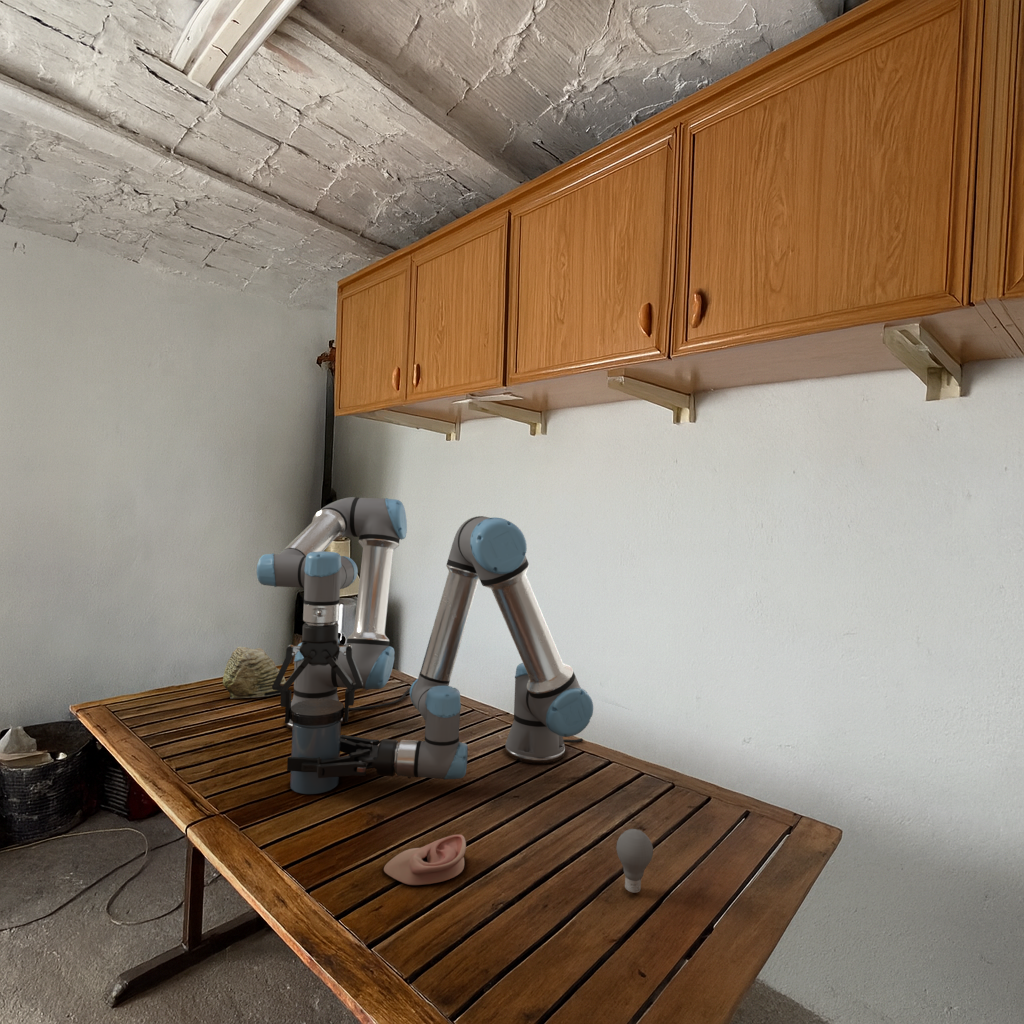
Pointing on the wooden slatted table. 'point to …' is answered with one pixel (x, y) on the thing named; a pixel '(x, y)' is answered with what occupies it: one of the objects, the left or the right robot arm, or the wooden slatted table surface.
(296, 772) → the jar
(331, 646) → the left robot arm
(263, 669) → the fossil
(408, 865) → the anatomical model
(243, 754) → the wooden slatted table surface
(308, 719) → the lid
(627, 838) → the light bulb
